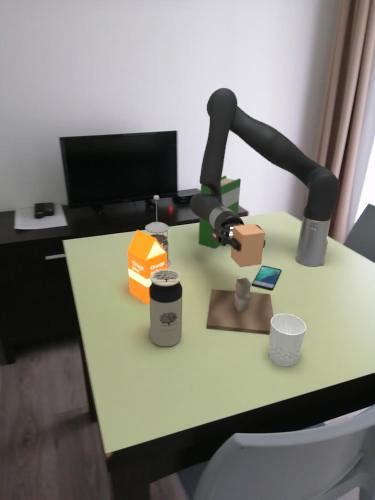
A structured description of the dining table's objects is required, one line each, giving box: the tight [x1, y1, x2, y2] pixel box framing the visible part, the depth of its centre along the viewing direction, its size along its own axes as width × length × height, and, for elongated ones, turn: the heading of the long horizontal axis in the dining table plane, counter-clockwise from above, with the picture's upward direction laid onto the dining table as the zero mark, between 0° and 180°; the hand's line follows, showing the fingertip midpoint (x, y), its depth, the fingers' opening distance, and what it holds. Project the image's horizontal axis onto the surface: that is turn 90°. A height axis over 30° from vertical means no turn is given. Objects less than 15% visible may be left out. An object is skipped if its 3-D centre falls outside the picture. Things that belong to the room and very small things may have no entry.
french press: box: [144, 194, 172, 268], centre depth 124 cm, size 10×12×25 cm
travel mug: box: [149, 268, 183, 347], centre depth 89 cm, size 8×8×18 cm
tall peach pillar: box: [230, 223, 266, 268], centre depth 94 cm, size 6×6×9 cm
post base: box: [206, 277, 274, 335], centre depth 101 cm, size 18×18×10 cm
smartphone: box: [251, 265, 283, 292], centre depth 121 cm, size 7×1×15 cm
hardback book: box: [198, 175, 242, 250], centre depth 143 cm, size 18×7×24 cm, turn 145°
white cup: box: [267, 313, 307, 368], centre depth 85 cm, size 8×8×10 cm
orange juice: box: [126, 229, 168, 306], centre depth 106 cm, size 8×9×20 cm
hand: (251, 246), depth 92 cm, fingers closed on tall peach pillar, 6 cm apart
